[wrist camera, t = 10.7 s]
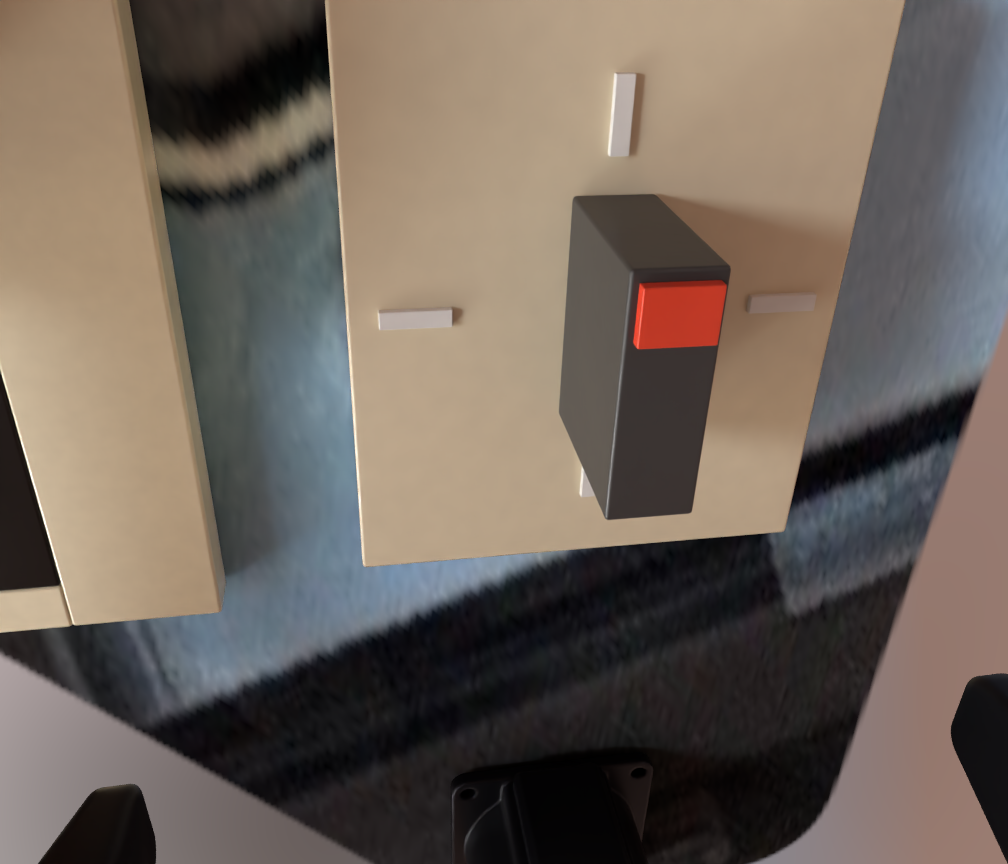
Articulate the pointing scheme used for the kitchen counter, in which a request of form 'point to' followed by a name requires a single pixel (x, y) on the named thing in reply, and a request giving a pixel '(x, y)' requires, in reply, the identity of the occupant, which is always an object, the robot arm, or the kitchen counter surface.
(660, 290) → the block with red tab
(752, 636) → the kitchen counter surface
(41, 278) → the stove top
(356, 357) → the control panel
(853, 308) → the kitchen counter surface
